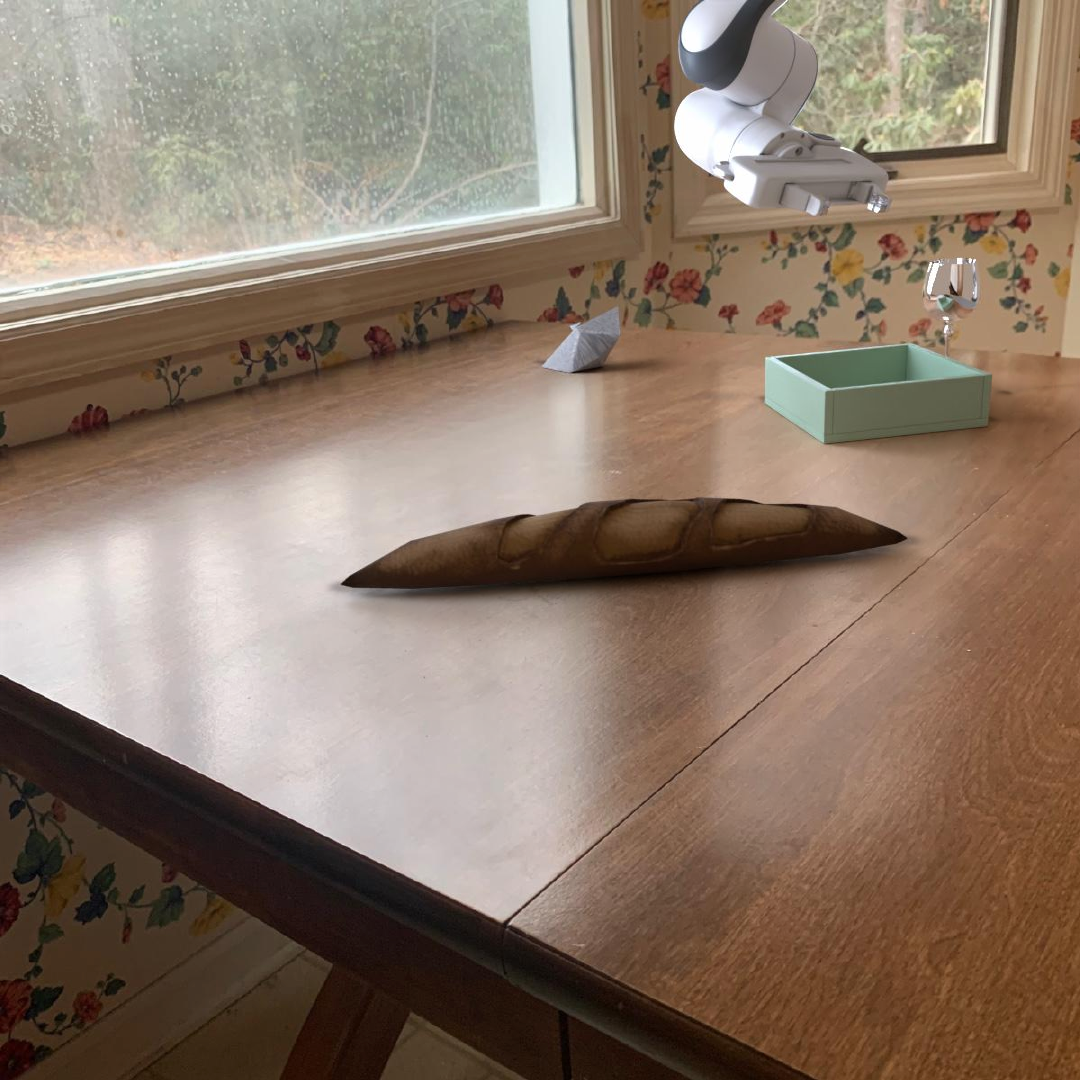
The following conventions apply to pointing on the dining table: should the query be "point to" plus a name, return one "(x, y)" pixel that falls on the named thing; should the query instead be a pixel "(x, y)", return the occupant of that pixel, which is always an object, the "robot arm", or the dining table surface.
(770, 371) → the bin
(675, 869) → the dining table surface
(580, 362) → the paper boat
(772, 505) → the bread
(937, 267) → the wineglass
